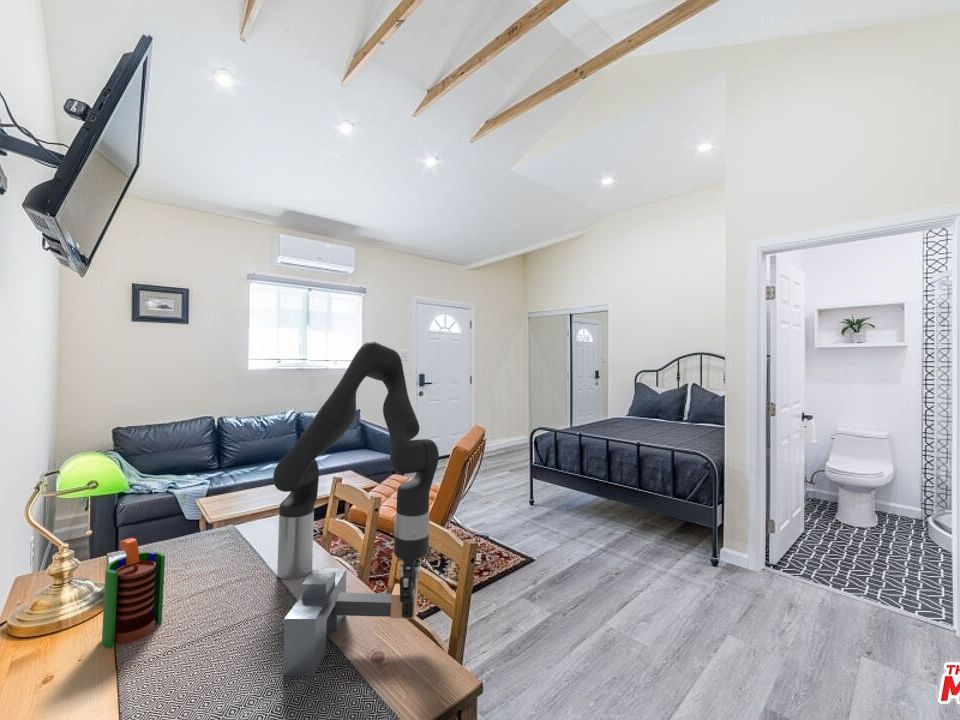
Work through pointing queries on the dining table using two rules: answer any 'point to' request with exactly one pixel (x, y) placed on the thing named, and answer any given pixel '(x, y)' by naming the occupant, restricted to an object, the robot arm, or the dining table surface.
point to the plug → (373, 604)
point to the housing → (312, 621)
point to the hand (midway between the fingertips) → (409, 609)
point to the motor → (132, 595)
